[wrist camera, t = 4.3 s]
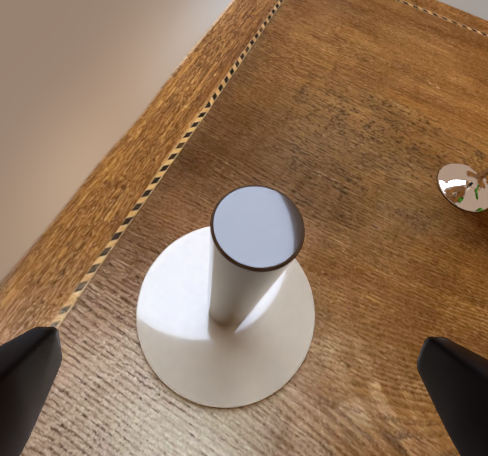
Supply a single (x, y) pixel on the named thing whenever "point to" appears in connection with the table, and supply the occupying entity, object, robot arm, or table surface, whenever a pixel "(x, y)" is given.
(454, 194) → the wineglass
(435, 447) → the table surface
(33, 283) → the table surface
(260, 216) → the pole on white disc
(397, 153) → the table surface
